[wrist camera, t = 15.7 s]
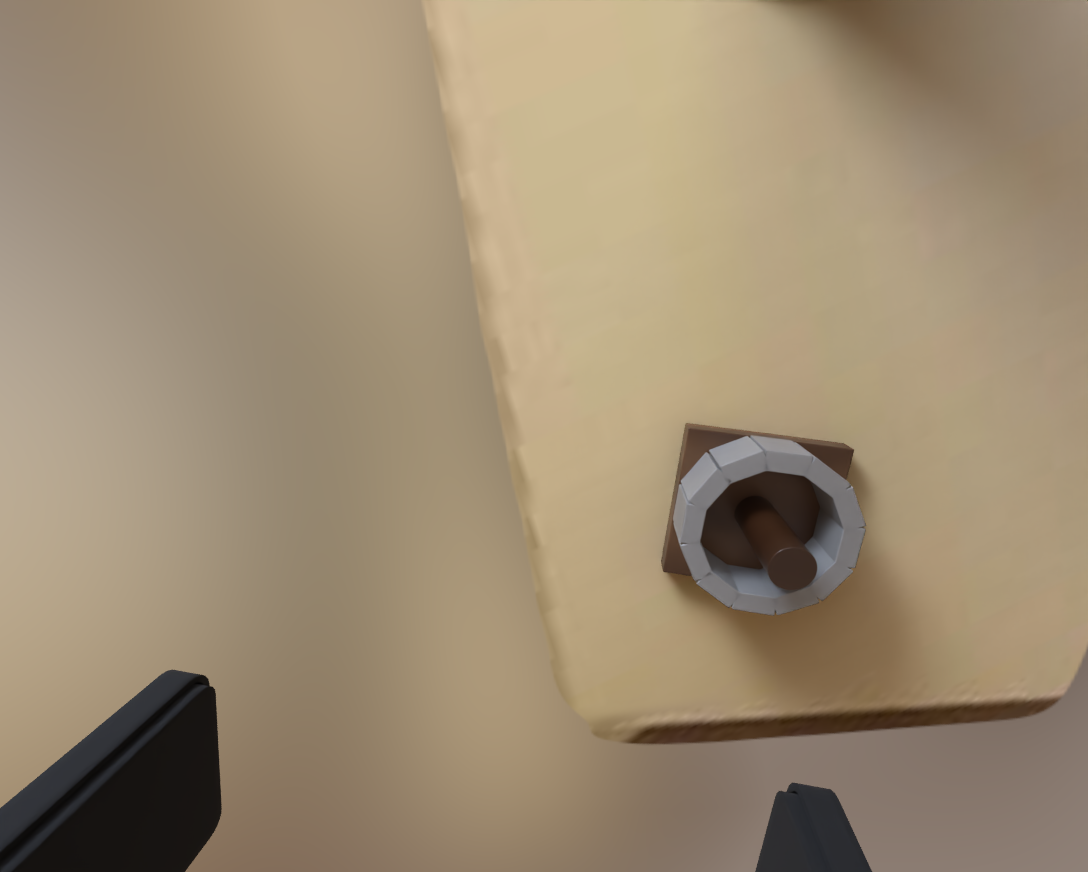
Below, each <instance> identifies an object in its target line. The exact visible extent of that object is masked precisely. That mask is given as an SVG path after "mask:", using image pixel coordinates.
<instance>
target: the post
mask: <svg viewBox="0 0 1088 872" xmlns="http://www.w3.org/2000/svg"><path fill="white" fill-rule="evenodd" d="M751 435H753V436H761V437H769V438H776V439H784V440H791V441H793V442H796V443H797V444H799V445H800V446H802V447H803V448H804V449H806V450H807V451H808V452H810V453H811V454H812V455H814V456H815V457H816V458H818V459H819V460H820V461H821V462H823V463H824V464H825V465H827V466H828V467H829V468H831V469H832V470H833V471H835V472H836V473H837V474H838V475H840V476H841V477H842V478H844V479H845V480H846V479H847V475H848V472H849V468H850V464H851V460H852V456H853V452H854V449H852V448H851V447H849V446H847V445H846V444H844V443H837V442H829V441H821V440H813V439H805V438H798V437H790V436H782V435H774V434H767V433H759V432H751V431H743V430H736V429H728V428H720V427H712V426H705V425H697V424H689V423H686V425H685V430H684V436H683V441H682V447H681V453H680V458H679V464H678V469H677V475H676V481H675V486H674V492H673V498H672V503H671V509H670V514H669V520H668V526H667V531H666V537H665V542H664V548H663V554H662V559H661V563H662V568H663V571H664V572H669V573H676V574H682V575H689V576H692V574H691V572H690V569H689V567H688V565H687V562H686V560H685V557H684V555H683V552H682V550H681V548H680V545H679V541H678V538H677V534H676V531H675V528H674V524H673V523H674V521H673V515H674V510H675V504H676V499H677V493H678V488H679V484H682V483H681V480H682V479H683V478H684V477H685V476H686V474H687V473H688V472H689V471H690V470H691V469H692V468H693V466H694V465H695V464H696V463H697V462H698V461H699V460H700V458H701V457H702V456H703V455H704V454H705V453H706V452H707V453H709V454H710V452H709V450H710V449H713V448H716V447H718V446H721V445H724V444H726V443H729V442H732V441H734V440H737V439H740V438H742V437H745V436H748V437H749V438H750V436H751ZM819 510H820V505H819V503H818V500H817V497H816V494H815V491H814V489H813V486H812V483H811V481H810V480H808V479H807V478H806V477H804V476H800V475H792V474H785V473H778V472H770V471H765V472H762V473H759V474H756V475H754V476H751V477H748V478H745V479H742V480H740V481H737V482H734V483H731V484H730V485H729V486H728V487H727V488H726V489H725V490H724V492H723V493H722V494H721V495H720V496H719V497H718V498H717V499H716V500H715V501H714V503H713V504H712V505H711V506H710V507H709V508H708V509H707V511H706V517H705V522H704V527H703V532H702V537H701V543H702V546H703V547H704V548H706V549H707V550H708V551H710V552H711V553H712V554H714V555H715V556H716V557H718V558H719V559H720V560H722V561H723V562H724V563H726V564H727V565H733V566H740V567H746V568H753V569H762V568H764V569H765V571H766V573H767V575H768V576H769V578H770V580H771V581H772V582H773V583H774V584H775V585H776V586H778V587H779V588H782V589H785V590H799V589H802V588H804V587H806V586H807V585H809V584H810V583H811V582H812V581H813V580H814V578H815V576H816V573H817V562H816V560H815V558H814V556H813V555H812V554H811V553H810V551H809V550H808V549H807V548H806V546H805V544H806V543H807V542H808V541H809V540H810V539H811V538H812V537H813V534H814V530H815V526H816V522H817V518H818V514H819Z"/></svg>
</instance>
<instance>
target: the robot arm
mask: <svg viewBox="0 0 1088 872" xmlns="http://www.w3.org/2000/svg"><path fill="white" fill-rule="evenodd" d="M220 816H221V789H220V770H219V750H218V731H217V712H216V693H215V689H214V688H213V687H210V686H209V681H208V678H207V677H206V676H204V675H199V674H193V673H187V672H182V671H177V670H169V671H166V672H165V673H163V674H162V675H160V676H159V677H158V678H157V679H155V680H154V681H153V682H152V683H150V684H149V685H148V686H147V687H146V688H144V689H143V690H142V691H141V692H140V693H138V694H137V695H136V696H135V697H134V698H132V699H131V700H130V701H129V702H128V703H126V704H125V705H124V706H123V707H122V708H120V709H119V710H118V711H117V712H116V713H114V714H113V715H112V716H111V717H110V718H108V719H107V720H106V721H105V722H104V723H102V724H101V725H100V726H99V727H98V728H96V729H95V730H94V731H93V732H91V733H90V734H89V735H88V736H87V737H86V738H84V739H83V740H82V741H81V742H79V743H78V744H77V745H76V746H75V747H74V748H72V749H71V750H70V751H69V752H67V753H66V754H65V755H64V756H63V757H62V758H60V759H59V760H58V761H57V762H55V763H54V764H53V765H52V766H51V767H49V768H48V769H47V770H46V771H45V772H43V773H42V774H41V775H40V776H39V777H37V778H36V779H35V780H34V781H33V782H31V783H30V784H29V785H28V786H27V787H25V788H24V789H23V790H22V791H20V792H19V793H18V794H17V795H16V796H14V797H13V798H12V799H11V800H10V801H9V802H7V803H6V804H5V805H4V806H2V807H1V808H0V872H185V871H186V869H187V868H188V867H189V865H190V864H191V863H192V861H193V860H194V859H195V857H196V856H197V855H198V853H199V852H200V851H201V849H202V848H203V846H204V845H205V844H206V843H207V841H208V840H209V839H210V837H211V836H212V834H213V833H214V831H215V829H216V827H217V825H218V822H219V819H220ZM755 872H872V871H871V869H870V867H869V864H868V862H867V860H866V858H865V856H864V854H863V851H862V849H861V847H860V845H859V843H858V841H857V839H856V836H855V834H854V832H853V830H852V828H851V826H850V823H849V821H848V819H847V817H846V815H845V813H844V810H843V808H842V806H841V804H840V802H839V800H838V798H837V796H836V795H835V793H834V792H833V791H832V790H830V789H825V788H819V787H814V786H809V785H803V784H798V783H791V784H790V785H789V787H788V790H787V792H783V791H779V792H778V793H777V795H776V797H775V801H774V804H773V808H772V812H771V816H770V819H769V823H768V826H767V830H766V834H765V838H764V842H763V846H762V849H761V853H760V856H759V860H758V864H757V868H756V871H755Z"/></svg>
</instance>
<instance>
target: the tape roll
mask: <svg viewBox="0 0 1088 872" xmlns="http://www.w3.org/2000/svg"><path fill="white" fill-rule="evenodd" d="M709 452H710V454H709V453H707V452H706V453H705V454H704V455H703V456H702V457H701V458H700V460H699V461H698V462H697V463H696V464H695V465H694V466H693V468H692V469H691V470H690V471H689V472H688V473H687V474H686V476H685V477H684V478H683V479H682V480H681V483H682V484H679V488H678V493H677V499H676V504H675V510H674V515H673V521H674V523H673V524H674V528H675V531H676V534H677V538H678V541H679V545H680V548H681V550H682V552H683V555H684V557H685V560H686V562H687V565H688V567H689V569H690V572H691V574H692V577H693V579H694V580H695V581H696V583H697V585H699V586H700V587H701V588H703V589H704V590H705V591H707V592H708V593H709V594H711V595H712V596H713V597H715V598H716V599H718V600H719V601H720V602H722V603H723V604H724V605H726V606H727V607H728V608H730V607H732V609H734V610H741V611H747V612H753V613H760V614H766V615H773V616H774V614H775V612H776V614H777V615H781V614H784V613H787V612H791V611H794V610H797V609H801V608H804V607H807V606H811V605H814V604H817V603H819V600H818V598H819V599H820V600H821V601H823V600H824V599H825V598H826V597H827V596H828V595H829V594H830V593H832V592H833V591H834V590H835V589H836V588H837V587H838V586H839V585H840V584H841V583H842V582H843V581H844V580H845V579H846V578H847V577H848V576H849V575H850V574H851V573H852V572H853V570H852V569H851V568H855V567H856V563H857V559H858V556H859V552H860V549H861V545H862V541H863V538H864V534H865V531H866V530H865V528H864V526H866V524H865V521H864V518H863V515H862V512H861V509H860V507H859V504H858V501H857V498H856V495H855V492H854V489H853V487H852V486H851V484H850V483H849V482H848V481H846V480H845V479H844V478H842V477H841V476H840V475H838V474H837V473H836V472H835V471H833V470H832V469H831V468H829V467H828V466H827V465H825V464H824V463H823V462H821V461H820V460H819V459H818V458H816V457H815V456H814V455H812V454H811V453H810V452H808V451H807V450H806V449H804V448H803V447H802V446H800V445H799V444H797V443H796V442H793V441H791V440H784V439H776V438H769V437H761V436H753V435H751V436H750V438H749V437H748V436H745V437H742V438H740V439H737V440H734V441H732V442H729V443H726V444H724V445H721V446H718V447H716V448H713V449H710V450H709ZM765 471H770V472H778V473H785V474H792V475H800V476H804V477H806V478H807V479H808V480H810V481H811V483H812V486H813V489H814V491H815V494H816V497H817V500H818V503H819V505H820V510H819V514H818V518H817V522H816V526H815V530H814V534H813V537H812V538H811V539H810V540H809V541H808V542H807V543H806V544H805V546H806V548H807V549H808V550H809V551H810V553H811V554H812V555H813V556H814V558H815V560H816V562H817V573H816V576H815V578H814V580H813V581H812V582H811V583H810V584H809V585H807V586H806V587H804V588H802V589H799V590H785V589H782V588H779V587H778V586H776V585H775V584H774V583H773V582H772V581H771V580H770V578H769V576H768V575H767V573H766V571H765V569H764V568H762V569H753V568H746V567H740V566H733V565H727V564H726V563H724V562H723V561H722V560H720V559H719V558H718V557H716V556H715V555H714V554H712V553H711V552H710V551H708V550H707V549H706V548H704V547H703V546H702V543H701V537H702V532H703V527H704V522H705V517H706V511H707V509H708V508H709V507H710V506H711V505H712V504H713V503H714V501H715V500H716V499H717V498H718V497H719V496H720V495H721V494H722V493H723V492H724V490H725V489H726V488H727V487H728V486H729V485H730V484H731V483H734V482H737V481H740V480H742V479H745V478H748V477H751V476H754V475H756V474H759V473H762V472H765Z"/></svg>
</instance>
